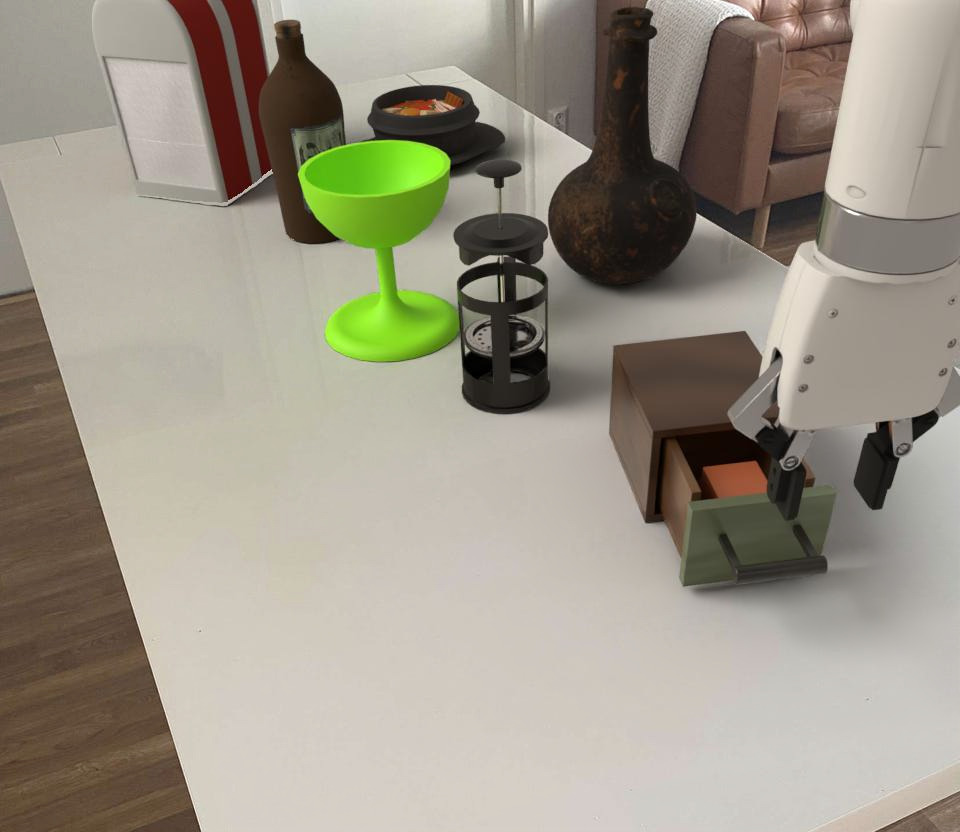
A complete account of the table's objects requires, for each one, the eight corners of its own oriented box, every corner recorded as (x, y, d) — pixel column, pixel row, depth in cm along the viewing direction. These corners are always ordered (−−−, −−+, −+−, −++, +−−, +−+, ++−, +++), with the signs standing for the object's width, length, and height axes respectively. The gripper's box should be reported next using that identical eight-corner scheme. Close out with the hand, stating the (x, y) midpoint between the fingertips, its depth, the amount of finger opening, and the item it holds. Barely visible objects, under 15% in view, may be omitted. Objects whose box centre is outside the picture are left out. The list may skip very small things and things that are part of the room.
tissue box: (133, 196, 151) (73, -15, 132) (199, 154, 162) (152, -45, 143) (227, 207, 146) (178, -9, 127) (288, 163, 157) (252, -42, 138)
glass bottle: (612, 316, 117) (625, 45, 97) (518, 265, 128) (513, 12, 108) (721, 270, 124) (754, 9, 104) (623, 226, 135) (637, -19, 115)
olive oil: (268, 228, 140) (227, 23, 122) (334, 207, 144) (305, 6, 126) (304, 253, 133) (267, 40, 116) (372, 231, 137) (347, 22, 120)
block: (748, 504, 88) (756, 460, 84) (766, 537, 84) (774, 492, 81) (696, 510, 87) (702, 466, 84) (712, 543, 84) (719, 499, 81)
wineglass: (482, 341, 114) (474, 177, 102) (348, 374, 110) (322, 209, 98) (432, 284, 125) (419, 130, 112) (308, 313, 121) (280, 157, 109)
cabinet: (782, 506, 91) (801, 413, 84) (645, 523, 90) (652, 431, 83) (732, 418, 101) (745, 330, 94) (608, 433, 100) (613, 345, 93)
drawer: (842, 613, 79) (864, 536, 74) (701, 631, 78) (712, 555, 73) (763, 475, 92) (777, 401, 87) (642, 489, 92) (648, 415, 86)
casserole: (478, 126, 165) (476, 69, 159) (525, 163, 153) (524, 103, 147) (332, 154, 159) (324, 96, 153) (368, 194, 147) (360, 133, 141)
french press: (548, 417, 103) (548, 186, 86) (456, 417, 103) (439, 187, 87) (552, 359, 111) (553, 137, 95) (467, 359, 112) (453, 140, 96)
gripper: (1009, 184, 57) (924, 455, 69) (713, 215, 56) (682, 484, 68) (1083, 240, 51) (976, 522, 64) (757, 275, 50) (715, 554, 63)
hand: (825, 500), depth 66 cm, fingers open, 5 cm apart
